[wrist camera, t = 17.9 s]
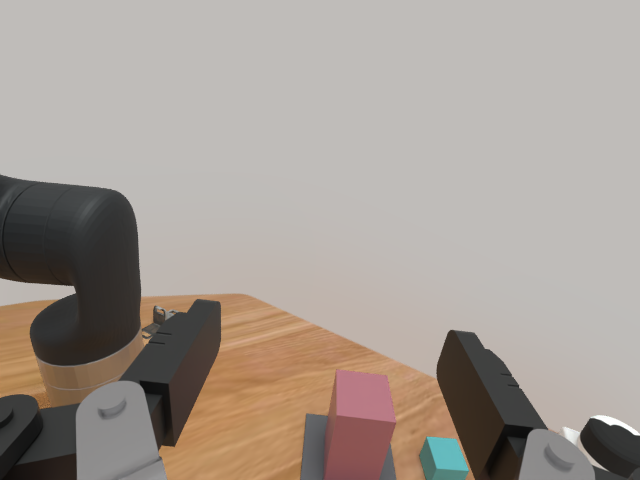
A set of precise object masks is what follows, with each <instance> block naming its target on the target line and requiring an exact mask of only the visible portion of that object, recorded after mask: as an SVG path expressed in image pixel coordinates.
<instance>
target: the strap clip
mask: <svg viewBox="0 0 640 480" xmlns="http://www.w3.org/2000/svg"><path fill="white" fill-rule="evenodd" d="M157 309H159V310H162V311H164V314H162V313H159V312H157ZM173 312H174V313H178V311H176V310H170V311H167V312H166V310H165V309H163V308H161V307H159V306H154V310H153V321H154V323H152V324H150V325H149V326H147V327H145V328H143V329H142V331H144V332H146V333H148V334H150V335H151V336H149V337H146V336H144V335H142V337H143V338H145V339H149V338H151V337H153V335H154V334H156V332H157V330H158V329H159V328H160V326H161V325H162V324H163V323H164V321H165V320H167V319H168V318H170V317H171V316H173V315H174V314H172V313H173Z"/></svg>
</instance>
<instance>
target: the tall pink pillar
mask: <svg viewBox="0 0 640 480" xmlns="http://www.w3.org/2000/svg"><path fill="white" fill-rule="evenodd" d="M395 425H396V419H395V413H394V408H393V403H392V398H391V393H390V387H389V382H388V377H387V376H386V375H378V374H370V373H362V372H354V371H346V370H337V369H336V375H335V380H334V386H333V392H332V397H331V403H330V408H329V414H328V419H327V425H326V431H325V445H324V477H323V480H379V478H380V474H381V471H382V468H383V464H384V461H385V458H386V455H387V451H388V448H389V445H390V441H391V438H392V435H393V431H394V428H395Z"/></svg>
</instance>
